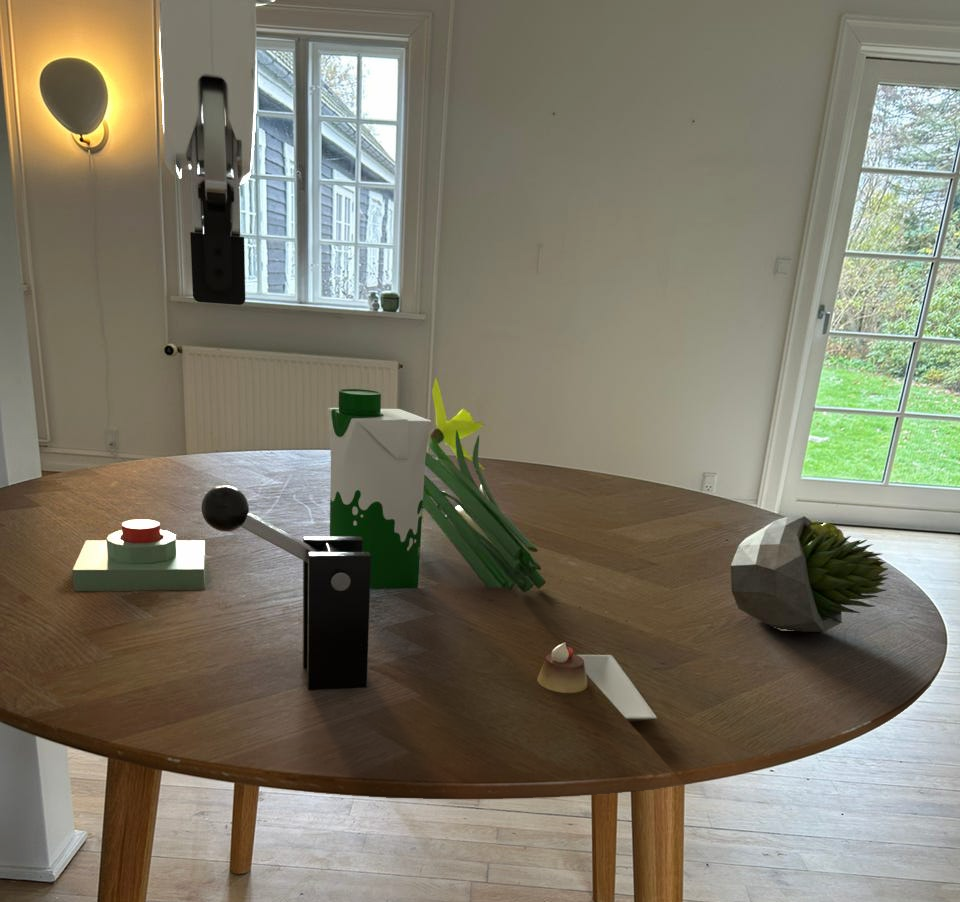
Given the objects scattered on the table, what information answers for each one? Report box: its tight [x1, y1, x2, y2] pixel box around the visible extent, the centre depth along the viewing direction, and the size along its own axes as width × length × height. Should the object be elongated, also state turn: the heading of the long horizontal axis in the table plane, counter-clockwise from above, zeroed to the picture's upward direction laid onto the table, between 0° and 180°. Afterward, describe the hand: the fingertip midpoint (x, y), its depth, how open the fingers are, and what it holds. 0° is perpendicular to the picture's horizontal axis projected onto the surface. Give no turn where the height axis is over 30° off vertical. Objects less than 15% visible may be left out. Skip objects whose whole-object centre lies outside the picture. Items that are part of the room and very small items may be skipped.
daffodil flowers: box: [422, 376, 547, 593], centre depth 105 cm, size 17×15×35 cm
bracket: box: [302, 535, 371, 691], centre depth 67 cm, size 12×9×12 cm
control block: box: [71, 529, 207, 592], centre depth 90 cm, size 12×10×4 cm
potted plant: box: [730, 515, 890, 633], centre depth 89 cm, size 12×13×15 cm
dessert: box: [536, 638, 658, 723], centre depth 71 cm, size 12×12×5 cm
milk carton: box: [327, 388, 432, 590], centre depth 89 cm, size 9×9×20 cm
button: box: [121, 518, 161, 543], centre depth 89 cm, size 4×4×2 cm
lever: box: [200, 485, 342, 563], centre depth 64 cm, size 12×3×3 cm
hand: (219, 302), depth 57 cm, fingers closed
